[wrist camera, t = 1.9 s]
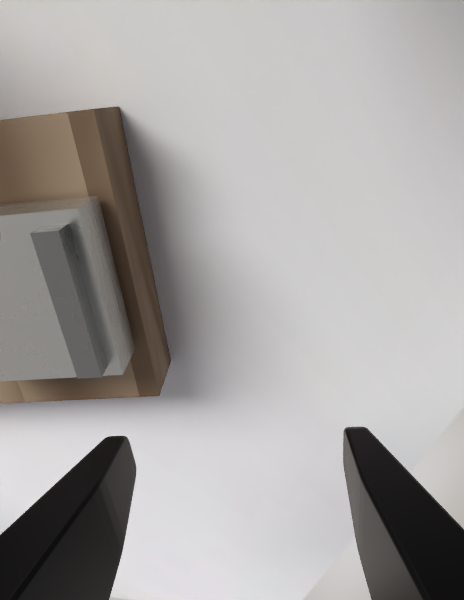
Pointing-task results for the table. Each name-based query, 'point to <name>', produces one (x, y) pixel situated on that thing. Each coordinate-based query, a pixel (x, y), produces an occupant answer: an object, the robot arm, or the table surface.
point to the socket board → (119, 225)
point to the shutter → (60, 293)
